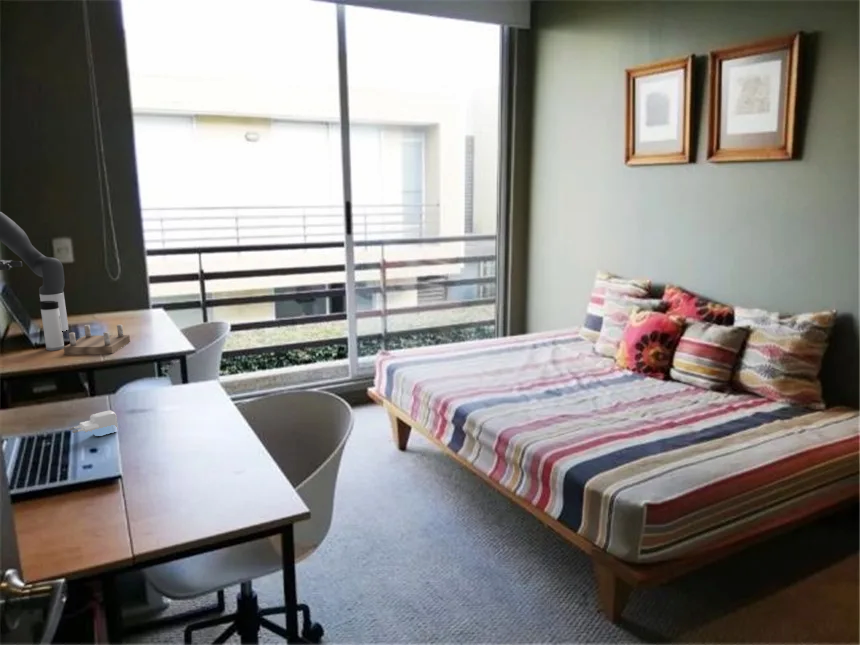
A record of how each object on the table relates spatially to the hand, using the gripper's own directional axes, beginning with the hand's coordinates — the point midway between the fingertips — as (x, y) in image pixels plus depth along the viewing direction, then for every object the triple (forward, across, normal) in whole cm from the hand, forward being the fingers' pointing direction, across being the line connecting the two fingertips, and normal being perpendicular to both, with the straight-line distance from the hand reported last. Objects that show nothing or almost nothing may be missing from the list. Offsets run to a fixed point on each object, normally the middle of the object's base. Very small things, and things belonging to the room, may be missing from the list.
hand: (15, 265), depth 242 cm
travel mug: (+10, 0, +34) cm, 36 cm away
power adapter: (+64, -92, +34) cm, 117 cm away
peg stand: (+27, 0, +34) cm, 44 cm away
